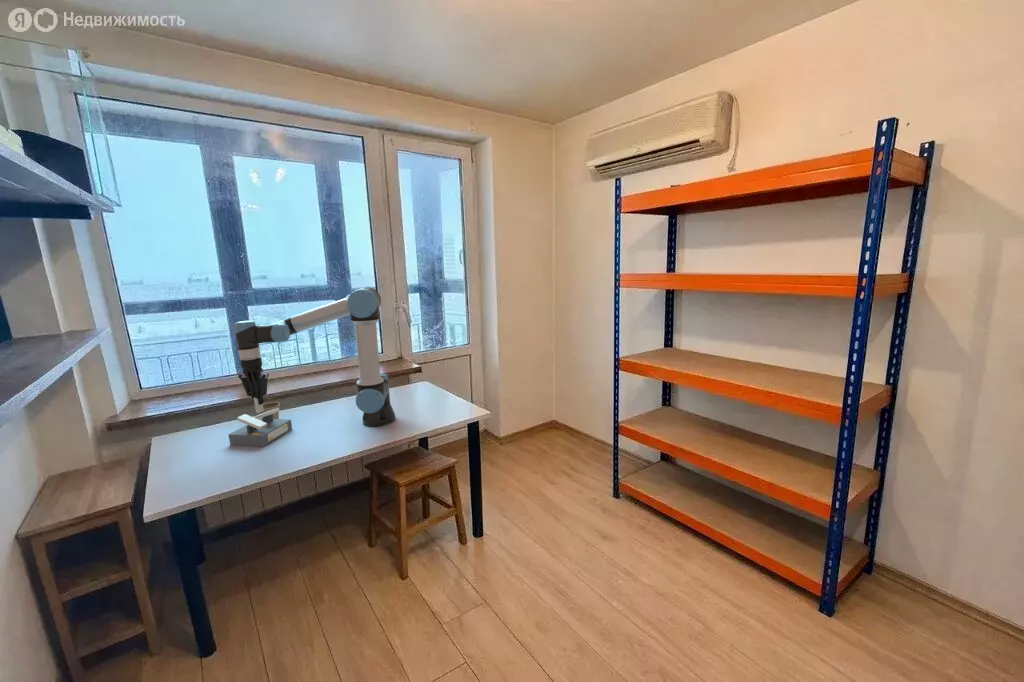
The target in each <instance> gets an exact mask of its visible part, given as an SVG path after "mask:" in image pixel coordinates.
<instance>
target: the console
mask: <svg viewBox="0 0 1024 682" xmlns="http://www.w3.org/2000/svg"><path fill="white" fill-rule="evenodd" d="M258 420H261V421H263V422H265V423H267V426H266V427H264V428H262V429H260V430H259V429H257V428H254V427H252V426H249V425H247V424H245V425H244V426H243V427H241V428H238V429H236V430H234V431H233V432H230V433H228V439H229V440H228V441H229V445H230V446H234V447H235V446H236V447H237V446H238V447H255V448H264V447H266V446H268V445H269V444H271V443H272V442H274V441H276V440H278V439H279V438H281V437H282V436H284V435H287V433H290V432H291V431H293V426H292V419H286V418H285V419H284V418H281V419H280V418H279V419H273V415H272V414H271V415H268V416H265V417H263V418H260V419H258Z"/></svg>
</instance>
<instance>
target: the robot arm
mask: <svg viewBox="0 0 1024 682" xmlns="http://www.w3.org/2000/svg"><path fill="white" fill-rule="evenodd" d="M381 298H382V297H381V294H380V293H379V291H377V289H375V288H373V287H371V286H363V287H360V288H357V289H355V290H353V291H352V292H350V293H348V294H347V295H346V297H344V298H342V299H339V300H336V301H333V302H331V303H327V304H324V305H322V306H318V307H315V308H313V309H309V310H307V311H304V312H301V313H299V314H295V315H292V316H291V317H289V316H288V317H287V318H282V319H280V320H278V321H276V322H273V323H268V324H259V325H258V324H256V321H255V320H242V321H237V322H235V323H234V324H233V326H234V327H233V328H234V335H235V339H236V345H237V350H238V351H237V352H238V357H239V362H240V367H241V369H242V373H240V374H238V376H237V377H238V378H239V379H240V381H241V384H242V386H243V389H244V391H245V394H246V396H247V397H251V398H252V403H253V405H254V408H255V409H254V410H255V413H261V411H264V408H263V404H265V403H264V396H266V395H267V394H268V378H269V376H270V373H268V372H264V370H263V368H262V366H263V361H262V357H261V356H262V354H261V349H260V344H268V343H269V344H270V343H271V344H272V343H282V342H287V341H289V340H290V336H292V335H295V334H298V333H300V332H304V331H306V330H309V329H312V328H314V327H318V326H321V325H323V324H328V323H330V322H332V321H335V320H338V319H341V318H343V317H347V316H350V321H351V323H352V324H354V329H355V340H356V352H357V363H358V374H359V375H358V376H359V378H358V379H357V381H356V393H357V394H356V396H355V406H356V407H357V408H358V410H360V411H361V412H362V413H363V414H362V424H363V425H364V426H365V427H382V426H385V425H386V426H387V425H388V424H391V423H394V421H395V420H396V413H395V411H394V408H393V407H392V404H391V398H390V396H391V395H390V386H389V380H390V379H389V378H388V374H386V373H380V372H381V370H380V358H379V355H380V354H379V346H378V345H379V344H378V342H379V341H378V331H377V323H378V321H379V320H380V306H381V303H382V299H381Z"/></svg>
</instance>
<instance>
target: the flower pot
mask: <svg viewBox="0 0 1024 682" xmlns="http://www.w3.org/2000/svg"><path fill="white" fill-rule="evenodd" d="M280 405H281V403H280V402H278V401H272V402H271V401H270V402H266V403H263V408H264V411H261V412H260V414H262V413H265V412H267V411H270V410H273V409H276V408H279V409H280ZM272 415H273V419H280V411H278V412H276V413H274V414H272ZM262 418H263V417H262Z"/></svg>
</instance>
